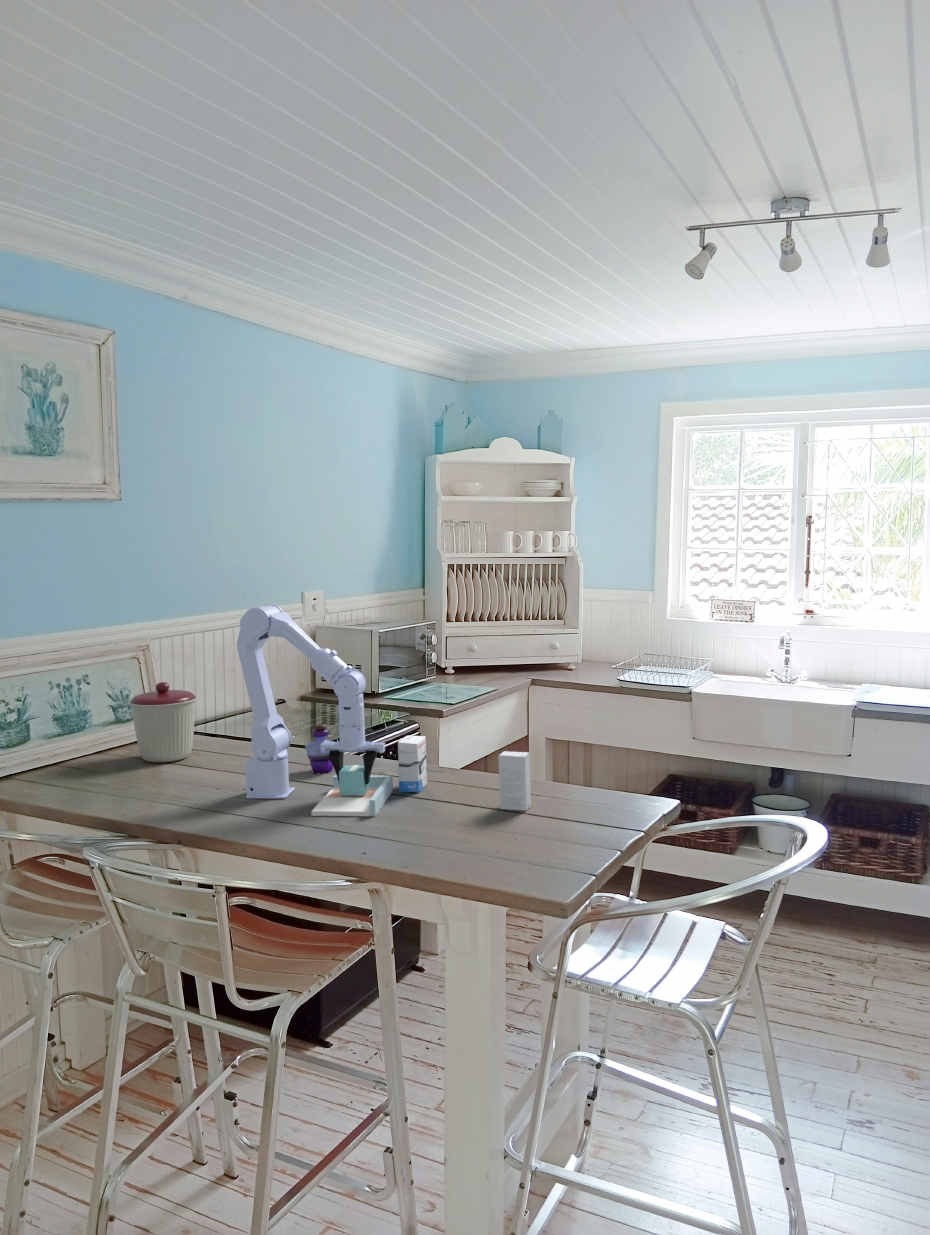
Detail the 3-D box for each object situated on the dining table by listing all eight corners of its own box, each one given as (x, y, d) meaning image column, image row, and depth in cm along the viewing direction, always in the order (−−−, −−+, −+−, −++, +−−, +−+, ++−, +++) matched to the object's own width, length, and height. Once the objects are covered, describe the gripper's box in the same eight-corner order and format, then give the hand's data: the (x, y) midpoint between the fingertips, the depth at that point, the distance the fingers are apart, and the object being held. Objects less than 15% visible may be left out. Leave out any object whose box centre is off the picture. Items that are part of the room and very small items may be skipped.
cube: (345, 788, 224) (344, 764, 224) (369, 788, 223) (368, 764, 223) (339, 795, 219) (338, 771, 218) (363, 795, 218) (362, 771, 217)
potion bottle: (345, 771, 245) (343, 725, 243) (314, 777, 240) (312, 730, 239) (330, 765, 252) (328, 719, 251) (299, 770, 247) (297, 724, 246)
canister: (173, 747, 277) (168, 675, 275) (214, 755, 266) (210, 679, 264) (117, 761, 262) (112, 684, 260) (159, 770, 252) (154, 690, 249)
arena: (311, 815, 208) (310, 799, 208) (334, 789, 228) (333, 775, 228) (375, 816, 207) (374, 800, 206) (393, 790, 226) (392, 775, 226)
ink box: (419, 793, 223) (417, 743, 222) (398, 792, 224) (396, 742, 223) (427, 783, 232) (426, 735, 230) (407, 783, 233) (406, 734, 231)
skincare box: (531, 805, 211) (530, 752, 210) (526, 811, 207) (525, 756, 206) (504, 803, 213) (503, 750, 212) (499, 809, 209) (497, 755, 208)
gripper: (316, 728, 216) (318, 787, 218) (379, 728, 215) (381, 788, 216) (324, 721, 223) (326, 779, 225) (385, 721, 222) (388, 779, 223)
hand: (354, 783), depth 221 cm, fingers closed on cube, 5 cm apart
